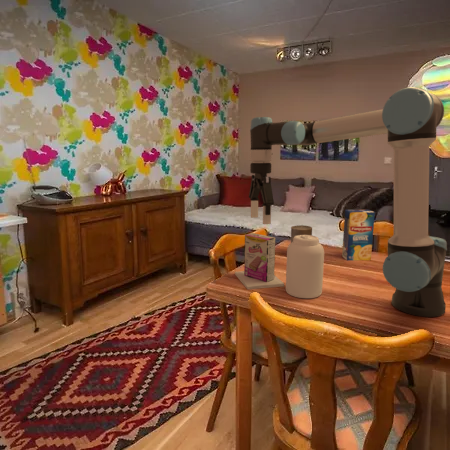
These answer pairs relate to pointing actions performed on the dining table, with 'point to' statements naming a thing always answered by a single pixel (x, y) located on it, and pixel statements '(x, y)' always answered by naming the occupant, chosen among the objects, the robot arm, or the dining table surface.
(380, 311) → the dining table surface
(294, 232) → the pillar candle
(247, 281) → the grey mat
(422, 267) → the robot arm
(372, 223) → the beverage box
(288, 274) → the cream jar
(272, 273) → the candy bar box
